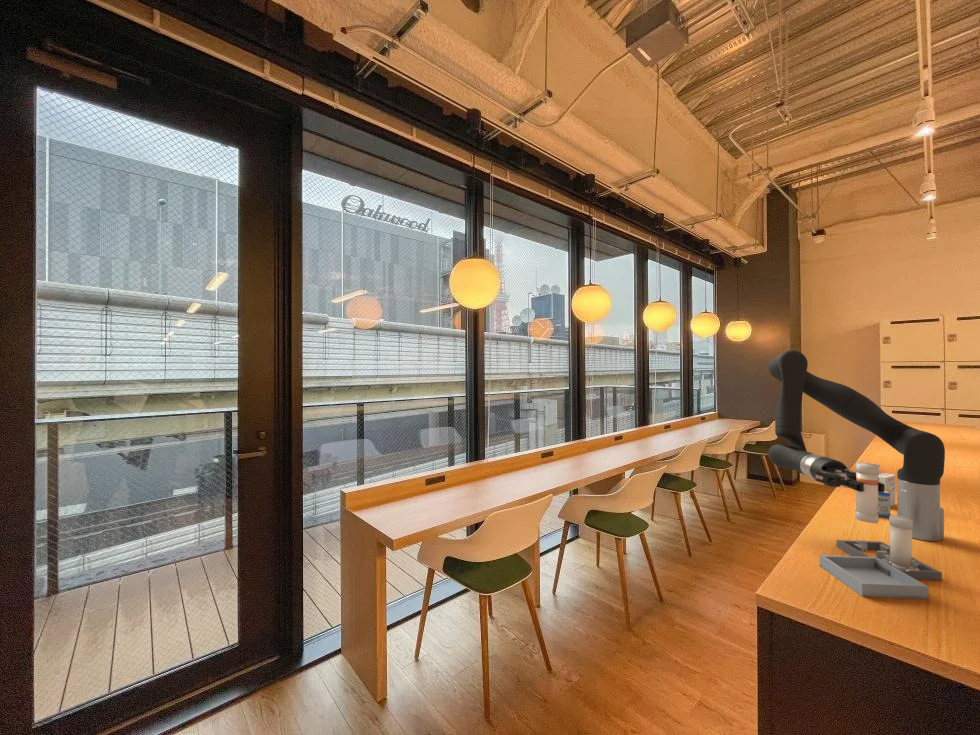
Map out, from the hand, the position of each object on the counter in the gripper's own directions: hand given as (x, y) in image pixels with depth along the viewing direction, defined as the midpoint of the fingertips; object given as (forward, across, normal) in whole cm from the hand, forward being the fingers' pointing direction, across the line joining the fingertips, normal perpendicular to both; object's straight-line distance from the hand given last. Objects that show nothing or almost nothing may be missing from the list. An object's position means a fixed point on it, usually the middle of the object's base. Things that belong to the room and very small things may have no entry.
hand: (872, 488), depth 98 cm
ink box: (-59, +49, +24) cm, 81 cm away
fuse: (-7, +12, +24) cm, 28 cm away
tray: (-1, 0, +24) cm, 24 cm away
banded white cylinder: (-2, 0, +8) cm, 9 cm away
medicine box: (-49, +38, +24) cm, 67 cm away
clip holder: (-12, +12, +24) cm, 29 cm away
